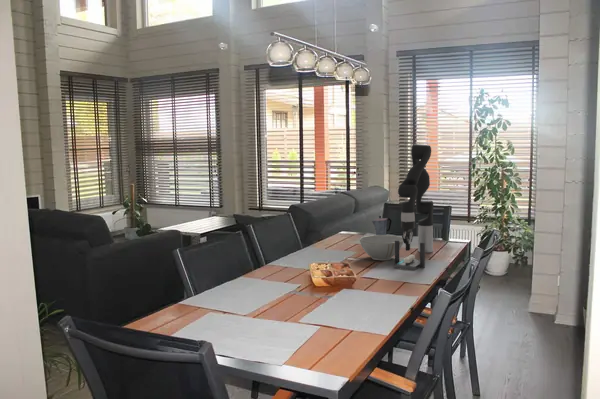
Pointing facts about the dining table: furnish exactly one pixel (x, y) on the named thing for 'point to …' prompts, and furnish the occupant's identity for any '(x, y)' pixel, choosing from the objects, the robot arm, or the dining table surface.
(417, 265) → the panel
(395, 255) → the dark gray rounded rod
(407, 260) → the paddles
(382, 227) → the moka pot
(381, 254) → the decorative bowl
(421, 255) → the cord post
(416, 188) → the robot arm
